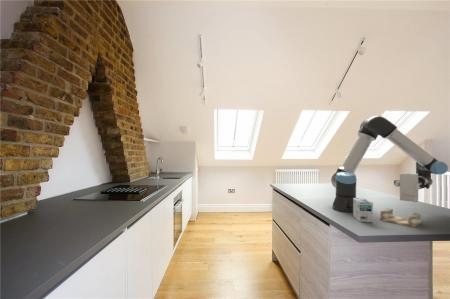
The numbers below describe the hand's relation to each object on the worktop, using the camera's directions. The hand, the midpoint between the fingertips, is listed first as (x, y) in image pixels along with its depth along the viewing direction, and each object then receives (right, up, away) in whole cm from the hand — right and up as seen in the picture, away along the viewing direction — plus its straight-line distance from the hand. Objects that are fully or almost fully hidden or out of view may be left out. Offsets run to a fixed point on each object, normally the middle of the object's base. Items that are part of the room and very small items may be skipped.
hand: (406, 185), depth 130 cm
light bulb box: (-26, -19, -2) cm, 32 cm away
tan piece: (-7, -19, -5) cm, 21 cm away
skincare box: (+3, -9, +3) cm, 10 cm away
